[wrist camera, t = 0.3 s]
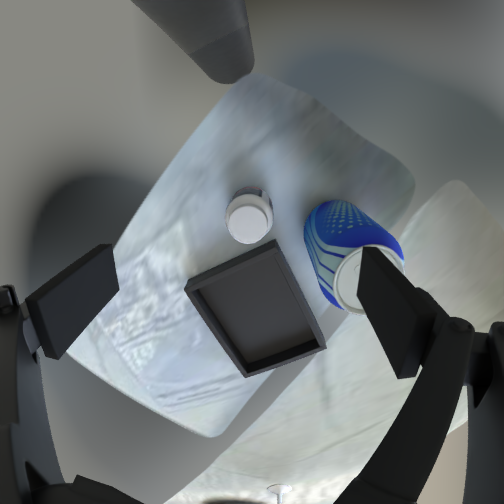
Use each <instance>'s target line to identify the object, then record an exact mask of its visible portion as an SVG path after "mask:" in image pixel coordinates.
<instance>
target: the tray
mask: <svg viewBox="0 0 504 504" xmlns="http://www.w3.org/2000/svg"><path fill="white" fill-rule="evenodd" d="M184 291H185V292H186V294H187V296H188V297H189V299H190V300H191V302H192V303H193V305H194V306H195V308H196V309H197V311H198V312H199V314H200V315H201V317H202V318H203V320H204V321H205V323H206V324H207V326H208V327H209V329H210V330H211V331H212V333H213V334H214V336H215V337H216V339H217V340H218V342H219V343H220V344H221V346H222V347H223V349H224V350H225V351H226V353H227V354H228V356H229V357H230V358H231V360H232V361H233V363H234V364H235V365H236V367H237V368H238V370H239V371H240V372H241V374H242V375H243V376H244V377H245V378H247V377H250V376H253V375H257V374H260V373H263V372H265V371H268V370H271V369H274V368H277V367H280V366H283V365H285V364H288V363H291V362H293V361H296V360H299V359H301V358H304V357H307V356H309V355H312V354H314V353H317V352H319V351H322V350H324V349H327V347H326V343H325V339H324V336H323V334H322V332H321V330H320V328H319V326H318V324H317V321H316V319H315V317H314V315H313V313H312V311H311V309H310V307H309V305H308V303H307V301H306V299H305V297H304V295H303V293H302V291H301V289H300V287H299V285H298V283H297V281H296V279H295V277H294V275H293V273H292V271H291V269H290V267H289V265H288V263H287V261H286V259H285V257H284V255H283V253H282V251H281V249H280V247H279V245H278V243H277V241H276V239H274V240H272V241H270V242H268V243H266V244H264V245H262V246H260V247H257V248H255V249H253V250H251V251H249V252H247V253H245V254H243V255H240V256H238V257H236V258H234V259H232V260H230V261H228V262H225V263H223V264H221V265H219V266H217V267H215V268H213V269H211V270H208V271H206V272H204V273H202V274H200V275H198V276H196V277H194V278H191V279H189V280H188V282H187V284H186V286H185V288H184Z"/></svg>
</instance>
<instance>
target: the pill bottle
mask: <svg viewBox="0 0 504 504" xmlns="http://www.w3.org/2000/svg"><path fill="white" fill-rule="evenodd" d="M225 221H226V225H227V227H228V229H229V231H230V233H231V235H232V236H233V238H234V239H236V240H237V241H239V242H241V243H245V244H252V243H255V242H258V241H259V240H261V239H262V238H263V237H264V236H265V235H266V234H267V233H268V232H269V230H270V229H271V226H272V223H273V207H272V202H271V199H270V197H269V196H268V194H267V193H266V192H265V191H263V190H262V189H260V188H257V187H245V188H243V189H241V190H239V191H238V192H237V193H236V194H235V195H234V197H233V198H232V200H231V202H230V204H229V205H228V207H227V210H226V214H225Z"/></svg>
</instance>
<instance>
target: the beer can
mask: <svg viewBox="0 0 504 504" xmlns="http://www.w3.org/2000/svg"><path fill="white" fill-rule="evenodd" d="M304 241H305V244H306V247H307V250H308V253H309V256H310V259H311V261H312V264H313V267H314V270H315V273H316V276H317V279H318V282H319V285H320V288H321V290H322V292H323V294H324V295H325V297H326V298H327V299H328V300H329V301H330V302H331V303H332V304H334V305H335V306H337V307H338V308H341V309H343V310H346V311H348V312H350V313H352V314H355V315H366V313H365V311H364V309H363V307H362V305H361V303H360V302H359V300H358V298H357V296H356V294H357V287H358V280H359V273H360V265H361V257H362V249H363V246H371V247H378V249H379V250H380V251H381V252H382V253H383V254H384V255H385V256H386V257H387V258H388V259H389V260H390V261H391V262H392V263H393V264H394V265H395V266H396V267H397V268H398V269H399V271H400V272H401V273H402V274H403V275H404V276H405V272H404V257H403V253H402V250H401V247H400V245H399V243H398V242H397V241H396V239H395V238H394V237H393V236H392V235H391V234H390V233H388V232H387V231H386V230H385V229H384V228H382V227H381V226H380V225H379V224H377V223H376V222H375V221H374V220H372V219H371V218H370V217H369V216H367V215H366V214H365V213H363V212H362V211H361V210H360V209H358V208H357V207H356V206H354V205H353V204H351V203H349V202H346V201H342V200H331V201H327V202H324V203H322V204H320V205H319V206H317V207H316V208H315V209H314V210H313V211H312V212H311V213H310V214H309V216H308V218H307V220H306V222H305V226H304Z"/></svg>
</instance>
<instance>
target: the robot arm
mask: <svg viewBox="0 0 504 504" xmlns="http://www.w3.org/2000/svg"><path fill="white" fill-rule="evenodd" d="M118 291H119V284H118V279H117V274H116V268H115V262H114V256H113V250H112V244H100V245H98V246H97V247H95V248H94V249H92V250H91V251H89V252H88V253H86V254H85V255H84V256H82V257H81V258H79V259H78V260H76V261H75V262H74V263H72V264H71V265H70V266H68V267H67V268H65V269H64V270H63V271H61V272H60V273H58V274H57V275H56V276H54V277H53V278H52V279H50V280H49V281H48V282H46V283H45V284H44V285H42V286H41V287H40V288H38V289H37V290H36V291H35V292H33V293H32V294H31V295H29V296H28V297H27V298H26V299H25V301H24V302H23V303H22V304H21V305H19V301H18V298H17V295H16V292H15V288H14V286H13V285H3V286H0V504H144V503H142V502H140V501H138V500H136V499H134V498H131V497H130V496H128V495H126V494H125V493H123V492H121V491H119V490H117V489H115V488H114V487H112V486H109V485H106V484H103V483H100V482H97V481H94V480H91V479H88V478H85V477H83V476H80V475H76V478H75V480H74V482H73V483H65V481H64V479H63V476H62V473H61V470H60V466H59V463H58V460H57V456H56V452H55V448H54V444H53V440H52V435H51V431H50V426H49V421H48V416H47V411H46V405H45V399H44V392H43V384H42V377H41V368H40V357H39V355H38V352H37V349H38V348H39V347H40V346H42V349H43V351H44V354H45V356H46V357H49V358H52V359H56V360H59V359H60V358H61V356H62V355H63V354H64V353H65V352H66V350H67V349H68V348H69V347H70V346H71V344H72V343H73V342H74V341H75V340H76V339H77V337H78V336H79V335H80V334H81V333H82V332H83V330H84V329H85V328H86V327H87V326H88V325H89V323H90V322H91V321H92V320H93V319H94V318H95V317H96V315H97V314H98V313H99V312H100V311H101V310H102V309H103V308H104V307H105V305H106V304H107V303H108V302H109V301H110V300H111V299H112V298H113V297H114V296H115V294H116V293H117V292H118ZM356 296H357V298H358V300H359V302H360V303H361V305H362V307H363V309H364V311H365V313H366V315H367V317H368V319H369V321H370V323H371V325H372V327H373V329H374V331H375V333H376V335H377V337H378V339H379V341H380V343H381V345H382V347H383V349H384V351H385V353H386V355H387V357H388V359H389V362H390V364H391V366H392V368H393V370H394V372H395V374H396V376H397V379H403V378H411V377H416V374H417V372H418V369H419V367H420V364H421V366H422V367H423V368H422V370H421V372H420V374H419V376H418V378H417V380H416V382H415V384H414V386H413V388H412V390H411V392H410V394H409V396H408V398H407V399H406V401H405V403H404V405H403V407H402V409H401V410H400V412H399V414H398V416H397V417H396V419H395V421H394V422H393V424H392V426H391V427H390V429H389V431H388V432H387V434H386V435H385V437H384V439H383V440H382V442H381V443H380V445H379V446H378V448H377V449H376V451H375V452H374V454H373V455H372V457H371V458H370V460H369V461H368V462H367V464H366V465H365V467H364V468H363V469H362V471H361V472H360V473H359V475H358V476H357V477H356V478H354V479H353V480H352V481H351V483H350V484H349V485H348V486H347V487H346V489H345V490H344V491H343V492H342V494H341V495H340V496H339V497H338V498H337V500H336V501H335V502H334V503H333V504H417V503H416V502H417V499H418V497H419V495H420V493H421V491H422V489H423V487H424V485H425V483H426V481H427V479H428V477H429V475H430V473H431V471H432V469H433V466H434V464H435V462H436V460H437V457H438V455H439V453H440V450H441V448H442V445H443V443H444V440H445V438H446V435H447V432H448V430H449V427H450V424H451V421H452V418H453V415H454V412H455V409H456V406H457V403H458V400H459V397H460V393H461V390H462V386H467V396H468V454H467V469H466V480H465V489H464V497H463V504H504V322H494V323H493V324H492V325H491V328H490V330H489V333H481V332H475V329H474V327H473V325H472V324H471V323H469V322H468V321H466V320H464V319H462V318H458V317H450V316H449V315H448V314H447V313H446V312H445V311H444V310H443V308H442V307H441V306H440V305H438V303H437V302H436V301H435V300H434V298H433V297H432V296H431V295H430V294H429V293H428V292H426V291H424V290H423V289H421V288H419V287H417V288H415V287H414V286H413V285H412V284H411V282H410V281H409V280H408V279H407V278H406V277H405V276H404V275H403V274H402V273H401V272H400V271H399V269H398V268H397V267H396V266H395V265H394V264H393V263H392V262H391V261H390V260H389V259H388V258H387V257H386V256H385V255H384V254H383V253H382V252H381V251H380V250H379V249H378V247H371V246H363V249H362V257H361V265H360V273H359V280H358V287H357V294H356Z"/></svg>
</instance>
